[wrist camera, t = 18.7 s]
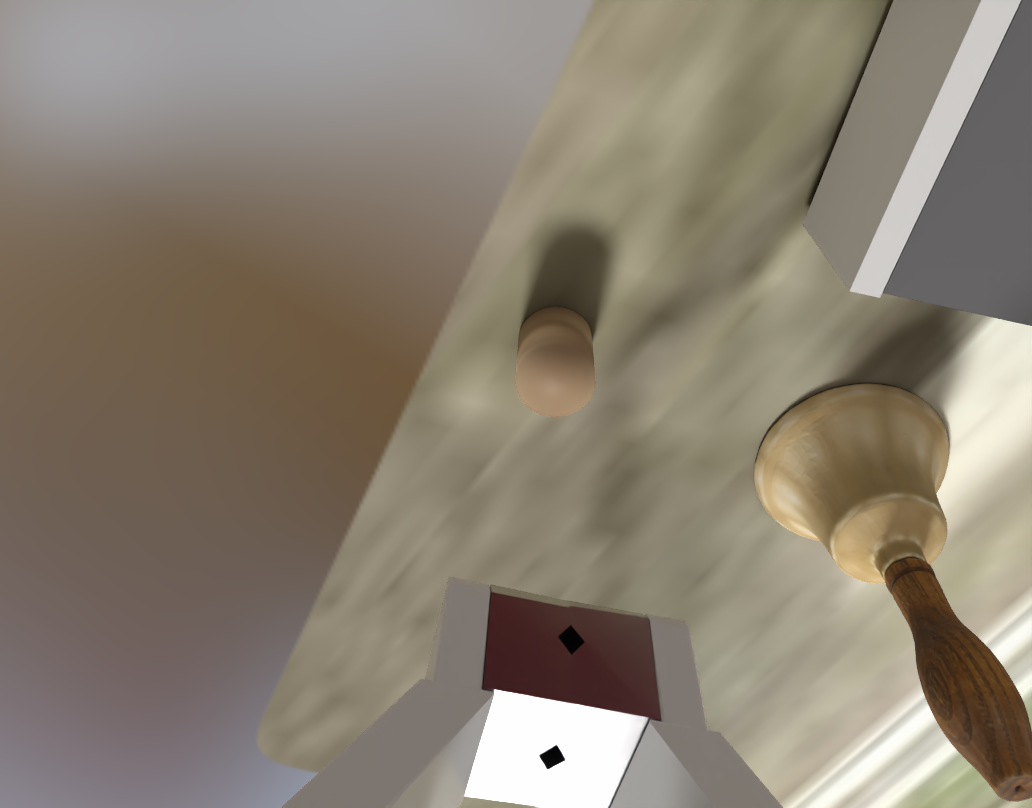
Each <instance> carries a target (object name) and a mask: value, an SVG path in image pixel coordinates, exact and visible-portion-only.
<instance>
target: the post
mask: <svg viewBox="0 0 1032 808" xmlns="http://www.w3.org/2000/svg"><path fill="white" fill-rule="evenodd" d="M515 384H516V390H517V393H518V395H519V397H520V399H521V401H522V402H523V403H524V404H525V405H526V406H527V407H528V408H530V409H531V410H532V411H534V412H536V413H539V414H541V415H545V416H551V417H560V416H566V415H569V414H572V413H575V412H577V411H578V410H580V409H581V408H583V407H584V406H585V405H586V404H587V403H588V402H589V400H590V399H591V397H592V395H593V393H594V389H595V369H594V357H593V344H592V334H591V330H590V327H589V325H588V324H587V322H586V321H585V319H584V318H583V317H582V316H580V315H579V314H578V313H576V312H574V311H572V310H570V309H567V308H563V307H548V308H544V309H541V310H539V311H537V312H535V313H533V314H532V315H531V316H529V317H528V318H527V319H526V321H525V322H524V323H523V325H522V327H521V329H520V333H519V340H518V353H517V366H516V379H515Z"/></svg>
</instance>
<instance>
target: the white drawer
mask: <svg viewBox="0 0 1032 808" xmlns="http://www.w3.org/2000/svg"><path fill="white" fill-rule="evenodd" d="M1020 2H1021V0H893V3H892V5H891V8H890V10H889V13H888V15H887V18H886V20H885V23H884V25H883V28H882V30H881V33H880V35H879V38H878V40H877V42H876V45H875V47H874V50H873V52H872V55H871V57H870V60H869V62H868V65H867V67H866V70H865V72H864V75H863V77H862V80H861V82H860V84H859V87H858V89H857V92H856V94H855V97H854V99H853V102H852V104H851V107H850V109H849V112H848V114H847V117H846V119H845V121H844V124H843V126H842V129H841V131H840V134H839V136H838V139H837V141H836V144H835V146H834V149H833V151H832V154H831V156H830V159H829V161H828V163H827V166H826V168H825V171H824V173H823V176H822V178H821V181H820V183H819V186H818V188H817V191H816V193H815V196H814V198H813V201H812V203H811V205H810V208H809V210H808V213H807V215H806V218H805V220H804V223H803V226H804V227H805V229H806V230H807V231H808V233H809V234H810V236H811V237H812V239H813V240H814V241H815V243H816V244H817V246H818V247H819V249H820V250H821V251H822V253H823V254H824V256H825V257H826V258H827V260H828V261H829V263H830V264H831V266H832V267H833V268H834V270H835V271H836V273H837V274H838V276H839V277H840V278H841V280H842V281H843V283H844V284H845V285H846V287H847V288H848V290H849V291H851V292H856V293H860V294H865V295H869V296H874V297H878V298H880V296H881V294H882V292H883V290H884V288H885V286H886V284H887V282H888V280H889V277H890V275H891V273H892V271H893V269H894V267H895V265H896V263H897V261H898V258H899V256H900V254H901V252H902V250H903V248H904V246H905V244H906V242H907V240H908V237H909V235H910V233H911V231H912V229H913V227H914V225H915V223H916V221H917V219H918V216H919V214H920V212H921V210H922V208H923V206H924V204H925V202H926V200H927V197H928V195H929V193H930V191H931V189H932V187H933V185H934V183H935V181H936V179H937V176H938V174H939V172H940V170H941V168H942V166H943V164H944V162H945V160H946V157H947V155H948V153H949V151H950V149H951V147H952V145H953V143H954V141H955V139H956V136H957V134H958V132H959V130H960V128H961V126H962V124H963V122H964V120H965V118H966V115H967V113H968V111H969V109H970V107H971V105H972V103H973V101H974V99H975V96H976V94H977V92H978V90H979V88H980V86H981V84H982V82H983V80H984V78H985V75H986V73H987V71H988V69H989V67H990V65H991V63H992V61H993V59H994V57H995V54H996V52H997V50H998V48H999V46H1000V44H1001V42H1002V40H1003V38H1004V35H1005V33H1006V31H1007V29H1008V27H1009V25H1010V23H1011V21H1012V19H1013V17H1014V14H1015V12H1016V10H1017V8H1018V6H1019V4H1020Z"/></svg>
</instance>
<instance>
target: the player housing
mask: <svg viewBox="0 0 1032 808" xmlns="http://www.w3.org/2000/svg"><path fill="white" fill-rule="evenodd" d="M883 293H885V294H890V295H894V296H899V297H903V298H908V299H912V300H917V301H921V302H926V303H930V304H935V305H939V306H944V307H948V308H953V309H957V310H962V311H966V312H971V313H976V314H980V315H985V316H989V317H994V318H998V319H1003V320H1007V321H1012V322H1016V323H1021V324H1025V325H1030V326H1032V0H1021V2H1020V4H1019V6H1018V8H1017V10H1016V12H1015V14H1014V17H1013V19H1012V21H1011V23H1010V25H1009V27H1008V29H1007V31H1006V33H1005V35H1004V38H1003V40H1002V42H1001V44H1000V46H999V48H998V50H997V52H996V54H995V57H994V59H993V61H992V63H991V65H990V67H989V69H988V71H987V73H986V75H985V78H984V80H983V82H982V84H981V86H980V88H979V90H978V92H977V94H976V96H975V99H974V101H973V103H972V105H971V107H970V109H969V111H968V113H967V115H966V118H965V120H964V122H963V124H962V126H961V128H960V130H959V132H958V134H957V136H956V139H955V141H954V143H953V145H952V147H951V149H950V151H949V153H948V155H947V157H946V160H945V162H944V164H943V166H942V168H941V170H940V172H939V174H938V176H937V179H936V181H935V183H934V185H933V187H932V189H931V191H930V193H929V195H928V197H927V200H926V202H925V204H924V206H923V208H922V210H921V212H920V214H919V216H918V219H917V221H916V223H915V225H914V227H913V229H912V231H911V233H910V235H909V237H908V240H907V242H906V244H905V246H904V248H903V250H902V252H901V254H900V256H899V258H898V261H897V263H896V265H895V267H894V269H893V271H892V273H891V275H890V277H889V280H888V282H887V284H886V286H885V288H884V290H883Z"/></svg>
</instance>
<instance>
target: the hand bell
mask: <svg viewBox="0 0 1032 808" xmlns="http://www.w3.org/2000/svg"><path fill="white" fill-rule="evenodd" d="M948 460H949V441H948V436H947V432H946V429H945V426H944V424H943V422H942V420H941V419H940V417H939V415H938V414H937V413H936V411H935V410H934V409H933V408H932V407H931V406H930V405H929V404H928V403H926V402H925V401H924V400H922V399H921V398H920V397H918V396H916V395H914V394H912V393H910V392H908V391H906V390H903V389H900V388H897V387H892V386H888V385H880V384H866V383H865V384H853V385H847V386H843V387H838V388H833V389H830V390H827V391H824V392H821V393H819V394H817V395H815V396H812V397H810V398H809V399H807V400H805V401H803V402H801V403H800V404H798V405H797V406H795V407H794V408H792V409H791V410H790V411H788V412H787V413H786V414H785V415H784V416H782V417H781V418H780V419H779V420H778V422H777V423H776V424H775V425H774V426H773V427H772V428H771V430H770V431H769V432H768V434H767V435H766V437H765V439H764V441H763V443H762V445H761V447H760V449H759V452H758V456H757V460H756V463H755V471H754V481H755V488H756V491H757V495H758V497H759V499H760V501H761V504H762V505H763V507H764V508H765V510H766V511H767V512H768V513H769V515H770V516H771V517H772V518H773V519H774V520H775V521H777V522H778V523H779V524H781V525H782V526H783V527H785V528H786V529H788V530H790V531H792V532H794V533H796V534H798V535H800V536H803V537H806V538H809V539H812V540H816V541H821V542H822V543H823V544H824V546H825V547H826V549H827V550H828V552H829V553H830V555H831V557H832V558H833V560H834V561H835V563H836V564H837V566H838V567H839V568H840V569H841V570H842V571H844V572H845V573H846V574H848V575H849V576H851V577H853V578H856V579H858V580H861V581H864V582H869V583H886V586H887V588H888V590H889V591H890V593H891V594H892V595H893V597H894V599H895V601H896V603H897V605H898V607H899V608H900V610H901V612H902V614H903V615H904V617H905V619H906V621H907V622H908V624H909V626H910V629H911V631H912V634H913V638H914V642H915V652H916V664H917V670H918V674H919V678H920V682H921V685H922V689H923V692H924V695H925V697H926V700H927V702H928V704H929V707H930V709H931V711H932V713H933V715H934V717H935V719H936V721H937V723H938V724H939V726H940V728H941V729H942V731H943V732H944V734H945V735H946V737H947V738H948V739H949V741H950V742H951V743H952V745H953V746H954V747H955V748H956V749H957V751H958V752H959V753H960V754H961V755H962V756H963V757H964V758H965V759H966V760H967V761H968V762H969V763H970V764H971V765H972V766H973V767H974V768H975V769H976V770H977V771H978V772H979V773H980V774H981V775H982V776H983V777H984V779H985V780H986V781H987V782H988V783H989V785H990V786H991V787H992V789H993V790H994V791H995V793H996V794H997V795H998V796H999V797H1000V798H1002V799H1004V800H1007V801H1017V802H1018V801H1022V800H1026V799H1030V798H1031V797H1032V731H1031V726H1030V722H1029V718H1028V714H1027V711H1026V708H1025V705H1024V702H1023V700H1022V698H1021V696H1020V694H1019V692H1018V690H1017V688H1016V687H1015V685H1014V683H1013V681H1012V680H1011V678H1010V677H1009V675H1008V673H1007V672H1006V670H1005V669H1004V667H1003V666H1002V664H1001V663H1000V662H999V660H998V659H997V658H996V656H995V655H994V654H993V653H992V652H991V650H990V649H989V648H988V647H987V646H986V645H985V644H984V643H983V642H982V641H981V640H980V639H979V638H978V637H977V636H976V635H975V634H974V633H972V632H971V631H970V630H969V629H968V628H967V627H966V626H964V625H963V624H962V623H961V621H960V620H959V619H958V618H957V617H956V615H955V614H954V612H953V610H952V609H951V607H950V605H949V603H948V601H947V599H946V597H945V595H944V593H943V590H942V588H941V586H940V584H939V582H938V580H937V579H936V576H935V573H934V571H933V569H932V567H931V566H930V564H931V563H932V562H933V561H935V559H936V558H937V557H938V555H939V554H940V553H941V551H942V549H943V547H944V545H945V542H946V538H947V522H946V518H945V516H944V513H943V511H942V508H941V506H940V504H939V501H938V498H937V495H936V493H937V491H938V490H939V488H940V486H941V484H942V481H943V479H944V476H945V473H946V469H947V465H948Z"/></svg>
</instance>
